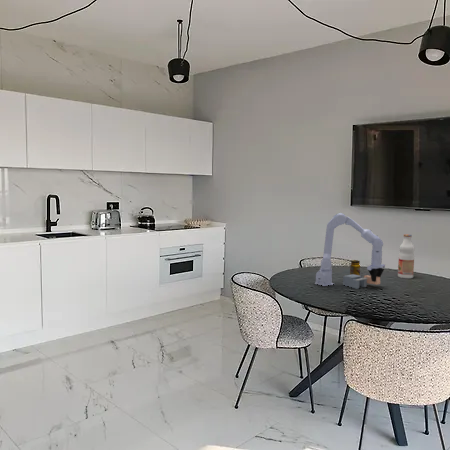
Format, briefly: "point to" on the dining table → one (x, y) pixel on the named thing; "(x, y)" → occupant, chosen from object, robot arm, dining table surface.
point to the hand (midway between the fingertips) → (375, 280)
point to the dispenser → (354, 281)
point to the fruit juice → (406, 258)
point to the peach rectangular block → (372, 281)
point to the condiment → (355, 267)
